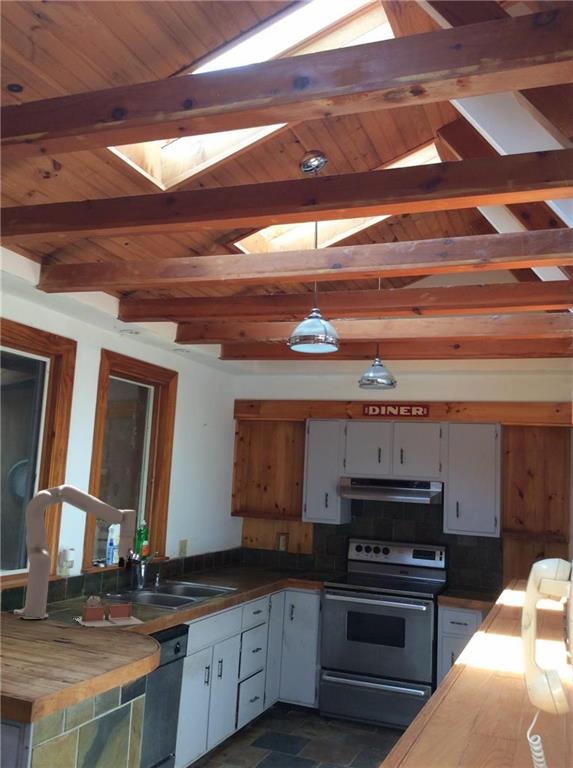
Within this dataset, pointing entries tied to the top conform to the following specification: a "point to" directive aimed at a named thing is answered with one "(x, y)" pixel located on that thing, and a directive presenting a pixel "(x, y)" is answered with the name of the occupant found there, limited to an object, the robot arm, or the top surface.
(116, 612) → the fence panel
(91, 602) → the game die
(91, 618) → the fence fixed
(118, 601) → the top surface
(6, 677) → the top surface
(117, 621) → the card
